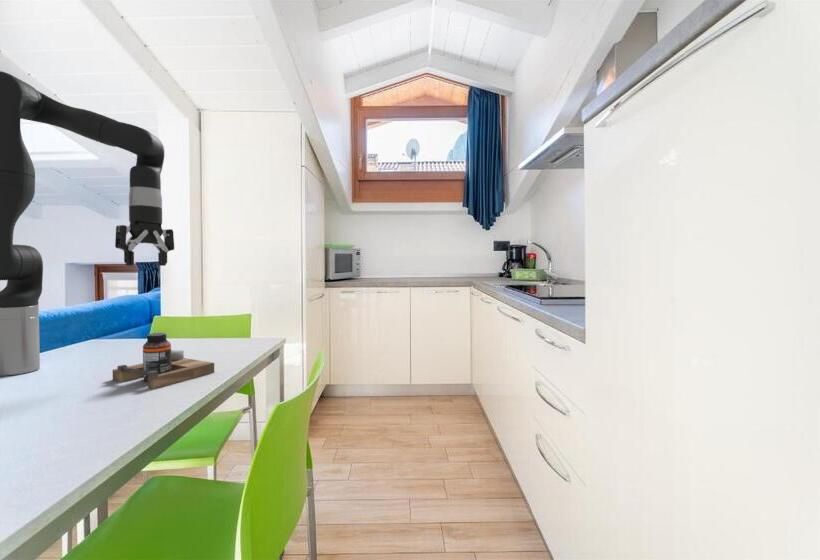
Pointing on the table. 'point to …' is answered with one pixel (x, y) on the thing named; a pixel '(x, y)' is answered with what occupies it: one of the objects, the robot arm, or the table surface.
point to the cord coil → (177, 355)
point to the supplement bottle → (157, 354)
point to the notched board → (179, 372)
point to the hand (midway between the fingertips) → (146, 265)
